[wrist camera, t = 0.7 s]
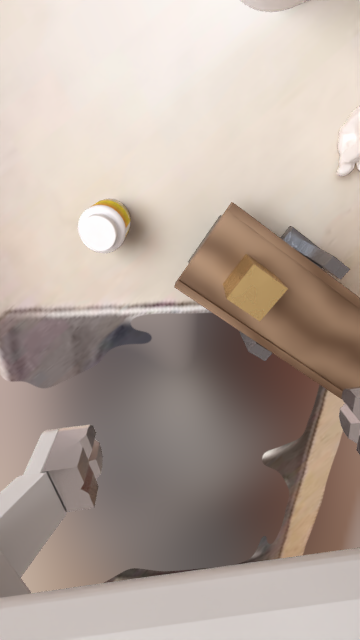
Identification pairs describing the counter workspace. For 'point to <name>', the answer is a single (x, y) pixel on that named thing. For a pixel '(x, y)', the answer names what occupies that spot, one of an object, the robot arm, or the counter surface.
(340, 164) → the white seated figurine
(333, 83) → the counter surface
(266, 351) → the trestle
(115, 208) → the supplement bottle
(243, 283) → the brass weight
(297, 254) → the beam
